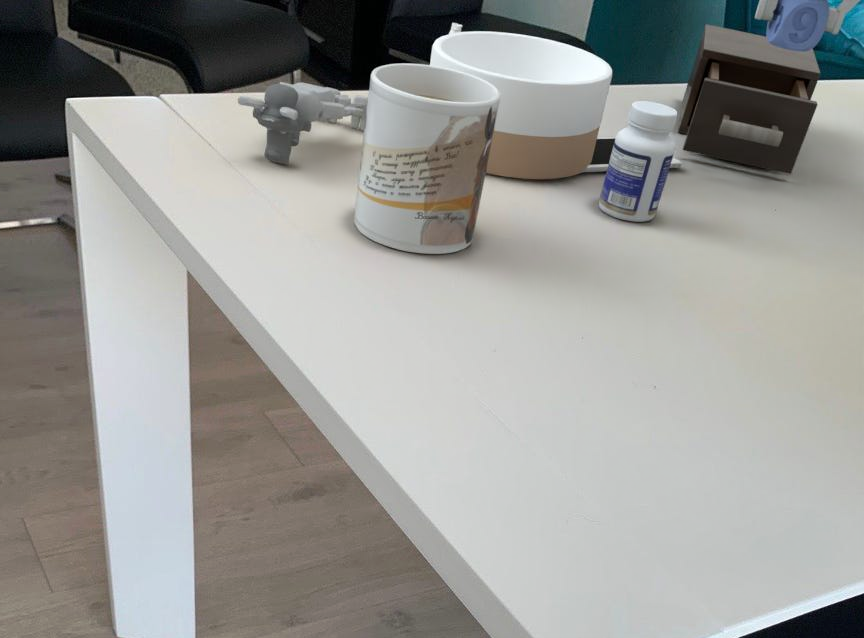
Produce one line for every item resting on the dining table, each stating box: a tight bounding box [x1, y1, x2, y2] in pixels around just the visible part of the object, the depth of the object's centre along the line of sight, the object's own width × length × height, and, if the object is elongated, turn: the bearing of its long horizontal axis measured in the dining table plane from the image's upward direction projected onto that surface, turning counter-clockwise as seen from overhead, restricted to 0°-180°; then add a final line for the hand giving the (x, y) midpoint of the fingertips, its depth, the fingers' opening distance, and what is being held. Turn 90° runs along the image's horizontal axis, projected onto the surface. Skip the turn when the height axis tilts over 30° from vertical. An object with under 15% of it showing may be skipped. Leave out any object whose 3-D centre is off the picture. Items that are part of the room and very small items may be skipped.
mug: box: [353, 62, 501, 255], centre depth 80 cm, size 10×12×11 cm
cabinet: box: [677, 24, 821, 136], centre depth 118 cm, size 15×13×9 cm
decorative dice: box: [765, 0, 830, 52], centre depth 93 cm, size 4×4×4 cm
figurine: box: [237, 81, 368, 165], centre depth 94 cm, size 7×6×18 cm
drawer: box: [682, 59, 818, 175], centre depth 108 cm, size 18×11×7 cm, turn 165°
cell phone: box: [582, 136, 682, 173], centre depth 104 cm, size 8×16×1 cm, turn 118°
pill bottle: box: [598, 100, 678, 223], centre depth 91 cm, size 5×5×9 cm
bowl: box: [429, 30, 613, 180], centre depth 99 cm, size 17×17×8 cm
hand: (795, 25), depth 93 cm, fingers closed on decorative dice, 4 cm apart
